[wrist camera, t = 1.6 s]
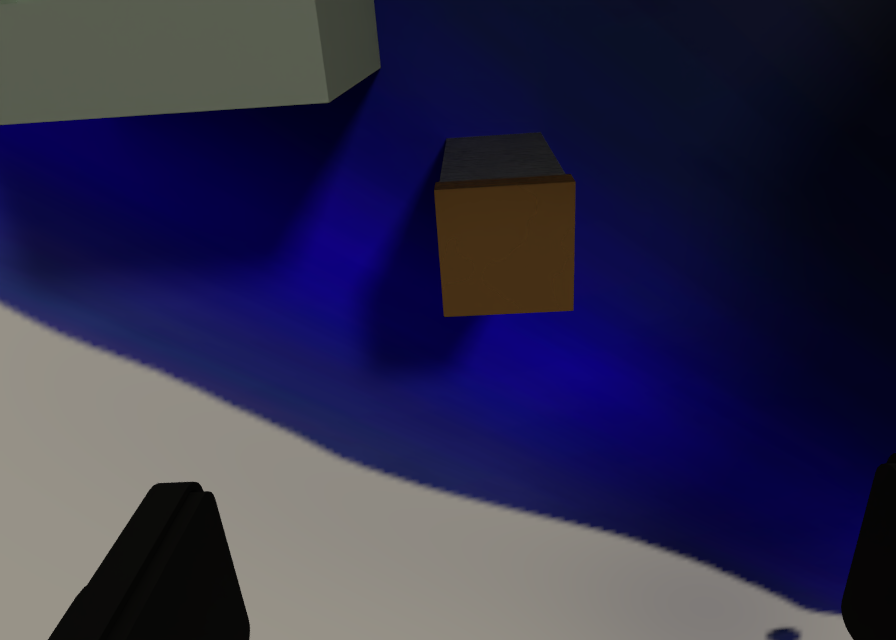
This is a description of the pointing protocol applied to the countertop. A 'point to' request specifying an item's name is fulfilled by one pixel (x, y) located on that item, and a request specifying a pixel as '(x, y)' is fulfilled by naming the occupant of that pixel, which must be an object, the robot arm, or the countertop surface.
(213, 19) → the grey hollow block
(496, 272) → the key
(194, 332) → the countertop surface
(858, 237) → the countertop surface
